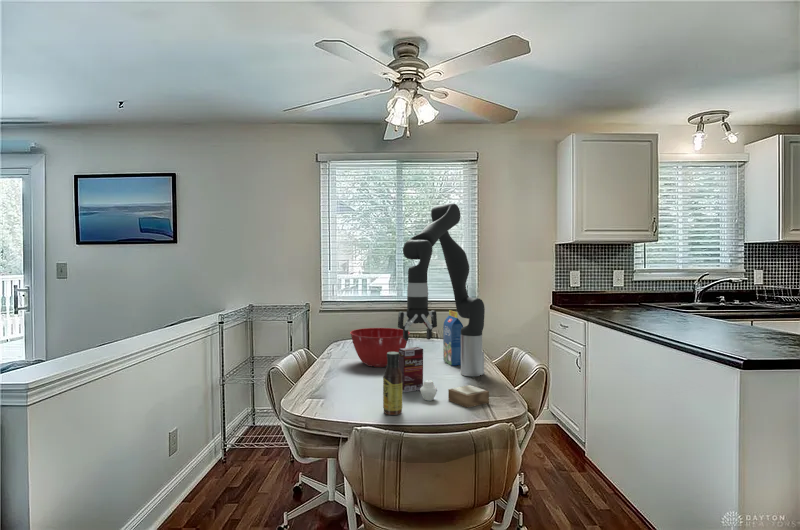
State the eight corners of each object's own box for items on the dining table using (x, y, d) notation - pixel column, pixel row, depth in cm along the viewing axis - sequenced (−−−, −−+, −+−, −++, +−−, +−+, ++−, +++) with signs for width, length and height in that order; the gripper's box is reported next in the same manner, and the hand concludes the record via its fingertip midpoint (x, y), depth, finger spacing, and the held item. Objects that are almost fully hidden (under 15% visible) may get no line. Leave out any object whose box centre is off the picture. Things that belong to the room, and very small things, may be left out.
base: (469, 396, 180) (469, 384, 180) (489, 402, 172) (489, 390, 172) (448, 400, 175) (448, 388, 175) (467, 407, 167) (467, 394, 167)
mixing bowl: (420, 362, 240) (420, 330, 240) (388, 373, 216) (388, 338, 215) (373, 355, 255) (373, 326, 255) (337, 366, 231) (337, 333, 231)
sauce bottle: (382, 410, 164) (382, 350, 164) (401, 409, 164) (401, 350, 164) (383, 416, 157) (383, 354, 157) (403, 416, 158) (403, 354, 158)
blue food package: (451, 366, 230) (451, 312, 230) (443, 360, 242) (443, 310, 242) (463, 365, 232) (463, 312, 231) (455, 360, 243) (455, 309, 243)
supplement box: (403, 392, 185) (403, 350, 185) (398, 389, 189) (397, 348, 189) (423, 390, 189) (423, 348, 189) (417, 387, 193) (417, 346, 193)
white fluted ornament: (418, 397, 179) (418, 378, 179) (434, 396, 180) (434, 377, 180) (422, 402, 173) (422, 382, 173) (439, 401, 174) (439, 381, 174)
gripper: (432, 294, 185) (431, 337, 185) (395, 294, 180) (395, 339, 180) (439, 295, 177) (439, 340, 178) (402, 296, 173) (402, 342, 173)
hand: (417, 339), depth 179 cm, fingers open, 8 cm apart
